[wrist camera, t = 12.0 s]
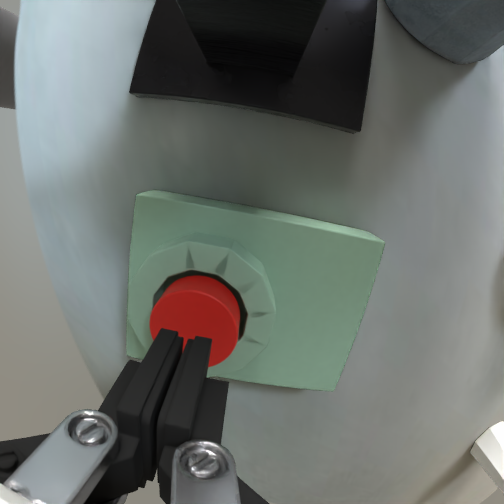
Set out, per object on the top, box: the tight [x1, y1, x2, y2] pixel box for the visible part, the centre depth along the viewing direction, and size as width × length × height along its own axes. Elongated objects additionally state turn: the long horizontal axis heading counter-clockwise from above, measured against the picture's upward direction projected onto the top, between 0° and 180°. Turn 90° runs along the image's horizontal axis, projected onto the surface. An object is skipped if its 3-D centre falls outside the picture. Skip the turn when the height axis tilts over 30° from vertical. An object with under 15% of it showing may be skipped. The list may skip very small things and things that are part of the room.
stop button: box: [149, 275, 240, 367], centre depth 13 cm, size 4×4×2 cm
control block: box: [126, 190, 385, 392], centre depth 16 cm, size 12×9×4 cm
